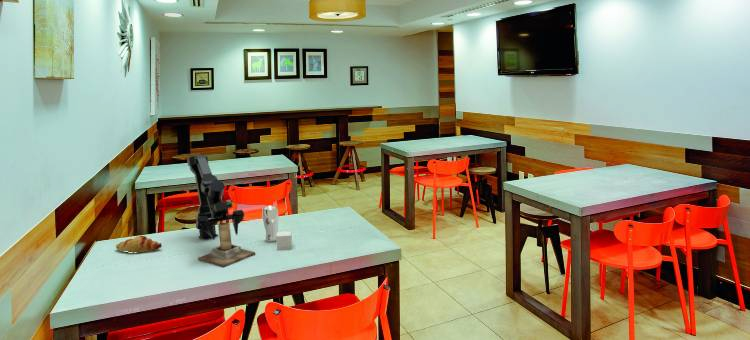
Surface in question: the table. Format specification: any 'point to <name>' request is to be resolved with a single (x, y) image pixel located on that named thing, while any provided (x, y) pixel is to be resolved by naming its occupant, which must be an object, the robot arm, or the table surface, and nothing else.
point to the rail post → (225, 236)
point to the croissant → (138, 244)
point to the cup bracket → (226, 256)
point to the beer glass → (270, 222)
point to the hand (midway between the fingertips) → (225, 236)
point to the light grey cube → (284, 240)
